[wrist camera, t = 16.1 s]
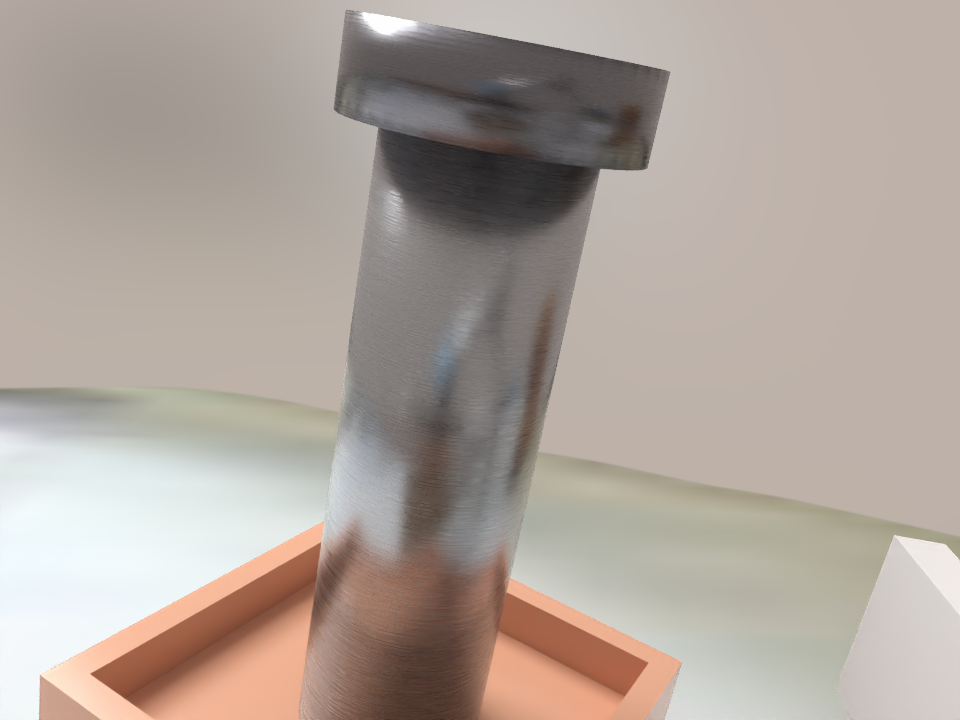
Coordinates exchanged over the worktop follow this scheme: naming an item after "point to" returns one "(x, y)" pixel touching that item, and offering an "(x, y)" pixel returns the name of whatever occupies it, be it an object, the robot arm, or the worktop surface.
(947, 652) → the robot arm
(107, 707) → the tray
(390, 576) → the metal plug
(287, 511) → the worktop surface
